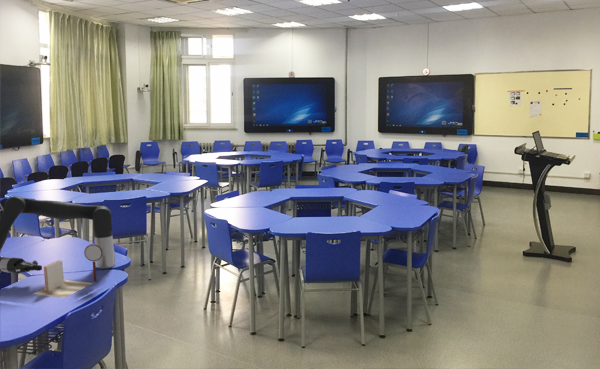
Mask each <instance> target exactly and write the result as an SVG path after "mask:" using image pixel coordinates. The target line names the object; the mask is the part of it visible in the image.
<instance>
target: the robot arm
mask: <svg viewBox="0 0 600 369" xmlns="http://www.w3.org/2000/svg"><path fill="white" fill-rule="evenodd" d="M20 214H31V215H32V214H33V215H39V216H42V217H45V218H51V219H56V220H75V219H77V220H78V219H85V220H91V221H92V222H93V224H92V225H93V234H94V244H95V245H98V246H99V247H100V248H101V249H102V257H101V258H100V259H99V260H97V261H95V265H96V269H110V268H113V267H114V266H115V264H116V255H115V254H116V253H115V247H114V239H113V219H112V211H111V209H110V208H109V207H108V206H105V205H85V204H79V203H74V202H69V201H59V200H45V199H43V200H42V199H41V200H40V199H39V200H38V199H33V198H27V197H23V196H19V195H14V196H10V197H9V198H7V199H6V201H5V203H4V206H3V209H2V212H1V216H0V253H1V252H2V250H3V246H4V245H5V243H6V241H7V239H8V236H9V233H10V231H11V228H12V226H13V225H14V222H15V221H16V219H17V218H18V217H19V215H20ZM42 270H43V265H39V263H38V261H37V260H33V261H32V262H31V261H25V260H24V258H22V257H14V256H10V257H9V256H8V257H7V256H0V272H4V273H10V274H21V273H29V272H30V271H31V272H32V271H39V272H40V271H42Z"/></svg>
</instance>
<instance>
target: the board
mask: <svg viewBox="0 0 600 369" xmlns="http://www.w3.org/2000/svg"><path fill="white" fill-rule="evenodd" d="M92 284H94V282H86V281H77V280H67V279H64V284H63V285H61V286H59V287H57V288H55V289H53V290H51V291H46V289H45V287H44V288H43V289H39V290H38V291H36V292H34V293H32V295H38V296H46V297H47V296H48V297H53V298H61V299H65V298H67V297H69V296H71V295H73V294H75V293H77V292H79V291H80V290H83V289H85V288H87V287H89V286H90V285H92Z"/></svg>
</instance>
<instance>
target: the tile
mask: <svg viewBox="0 0 600 369" xmlns="http://www.w3.org/2000/svg"><path fill="white" fill-rule="evenodd" d="M63 265H64V264H63V260H62V259H61V260H57V261H53V262H52V263H48V264H47V265H43V276H44V288H45V289H46V291H51V290H53V289H55V288H57V287H59V286H61V285H63V284H64V280H65V279H64V266H63Z"/></svg>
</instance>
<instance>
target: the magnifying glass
mask: <svg viewBox="0 0 600 369" xmlns="http://www.w3.org/2000/svg"><path fill="white" fill-rule="evenodd" d="M83 252H84V257H85V258H86V260H88V261H91V262H92V268H93V270H92V271H93V282H97V281H98V280H97V266H96V261H97V260H99V259H100V258H101V257H102V249H101V248H100V247H99V246H98V245H95V243H93V244H89V245H87V246H86V247H85V249H84V251H83Z"/></svg>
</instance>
